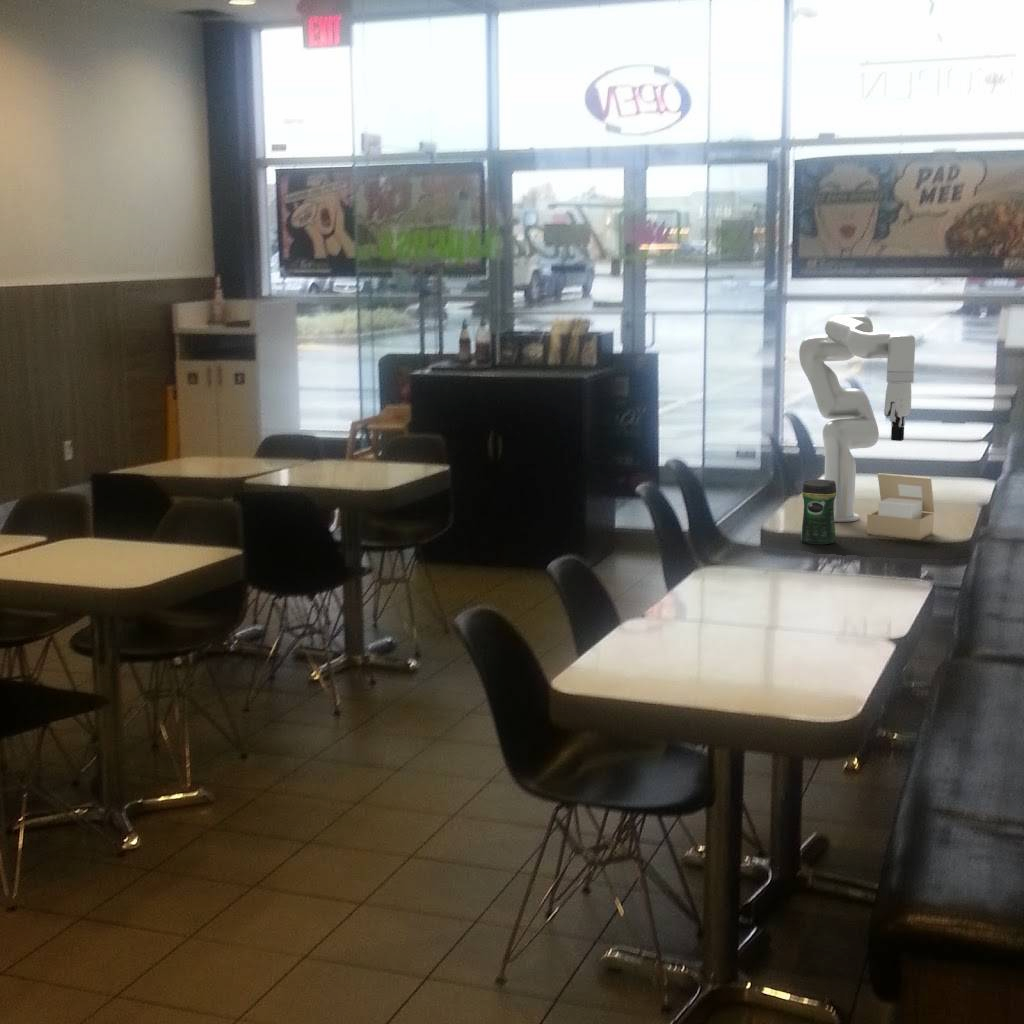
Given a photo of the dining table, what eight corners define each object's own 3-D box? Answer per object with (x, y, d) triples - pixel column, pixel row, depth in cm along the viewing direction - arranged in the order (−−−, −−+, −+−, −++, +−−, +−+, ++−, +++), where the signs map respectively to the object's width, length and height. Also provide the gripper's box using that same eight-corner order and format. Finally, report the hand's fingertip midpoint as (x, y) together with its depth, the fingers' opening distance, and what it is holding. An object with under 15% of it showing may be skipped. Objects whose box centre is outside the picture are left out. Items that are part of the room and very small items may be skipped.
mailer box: (866, 534, 400) (868, 501, 398) (880, 527, 410) (882, 495, 408) (919, 540, 391) (921, 506, 389) (932, 533, 400) (934, 500, 399)
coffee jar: (837, 541, 391) (840, 478, 388) (830, 546, 384) (832, 482, 381) (805, 538, 396) (807, 476, 392) (797, 543, 389) (799, 480, 385)
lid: (877, 474, 402) (878, 472, 403) (881, 507, 408) (882, 506, 409) (930, 478, 393) (931, 477, 394) (933, 512, 399) (934, 511, 400)
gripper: (896, 374, 394) (893, 436, 398) (878, 378, 382) (875, 442, 386) (921, 375, 390) (918, 438, 394) (904, 380, 378) (901, 444, 382)
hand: (897, 440), depth 390 cm, fingers closed
